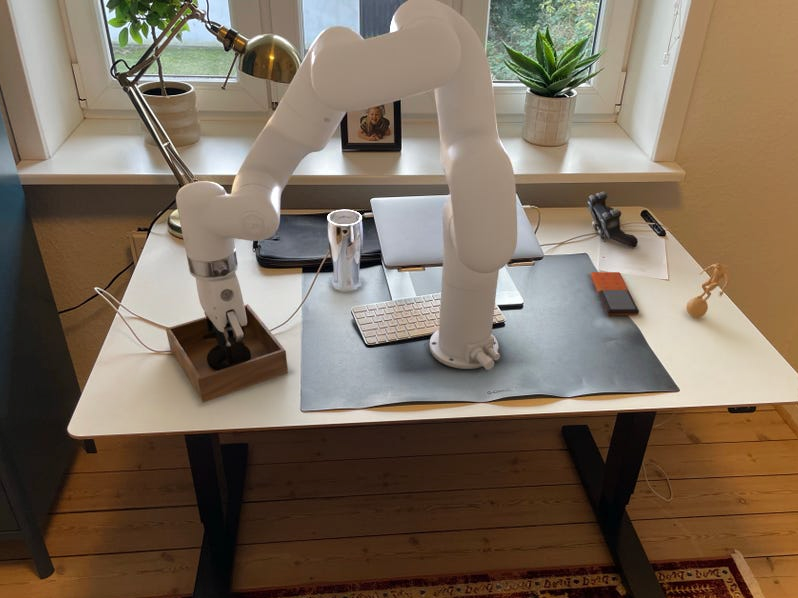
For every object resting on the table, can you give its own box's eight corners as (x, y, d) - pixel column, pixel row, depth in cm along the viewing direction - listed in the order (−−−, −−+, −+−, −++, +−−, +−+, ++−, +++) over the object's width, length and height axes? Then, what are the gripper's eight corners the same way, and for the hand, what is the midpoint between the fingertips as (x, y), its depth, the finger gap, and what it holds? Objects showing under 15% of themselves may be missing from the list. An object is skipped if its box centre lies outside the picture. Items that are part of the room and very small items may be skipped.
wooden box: (288, 372, 129) (285, 350, 126) (202, 402, 122) (198, 379, 119) (251, 325, 140) (248, 303, 136) (170, 350, 133) (165, 328, 130)
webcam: (257, 365, 129) (250, 318, 123) (215, 378, 126) (205, 330, 120) (243, 341, 135) (236, 295, 129) (202, 353, 132) (192, 306, 126)
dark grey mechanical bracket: (589, 226, 181) (576, 194, 175) (615, 213, 180) (603, 180, 174) (613, 261, 169) (600, 227, 163) (641, 247, 168) (629, 212, 162)
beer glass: (358, 295, 149) (357, 228, 140) (325, 290, 150) (321, 223, 141) (367, 277, 154) (367, 211, 145) (335, 272, 155) (332, 207, 146)
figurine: (676, 304, 151) (691, 252, 144) (703, 302, 152) (720, 251, 145) (694, 328, 145) (711, 275, 137) (723, 326, 146) (741, 273, 138)
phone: (620, 270, 158) (640, 311, 146) (619, 276, 159) (639, 316, 147) (590, 270, 158) (608, 311, 146) (589, 276, 158) (606, 316, 147)
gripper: (256, 279, 114) (268, 368, 125) (215, 231, 125) (229, 317, 136) (209, 292, 111) (225, 383, 122) (171, 242, 122) (189, 329, 133)
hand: (227, 347), depth 129 cm, fingers closed on webcam, 7 cm apart
